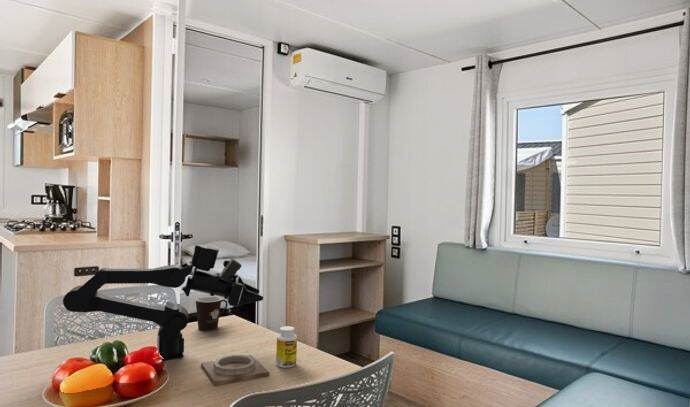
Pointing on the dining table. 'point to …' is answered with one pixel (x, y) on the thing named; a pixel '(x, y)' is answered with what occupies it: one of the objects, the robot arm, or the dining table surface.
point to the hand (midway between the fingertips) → (261, 295)
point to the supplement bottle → (286, 347)
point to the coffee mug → (208, 312)
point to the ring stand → (233, 369)
